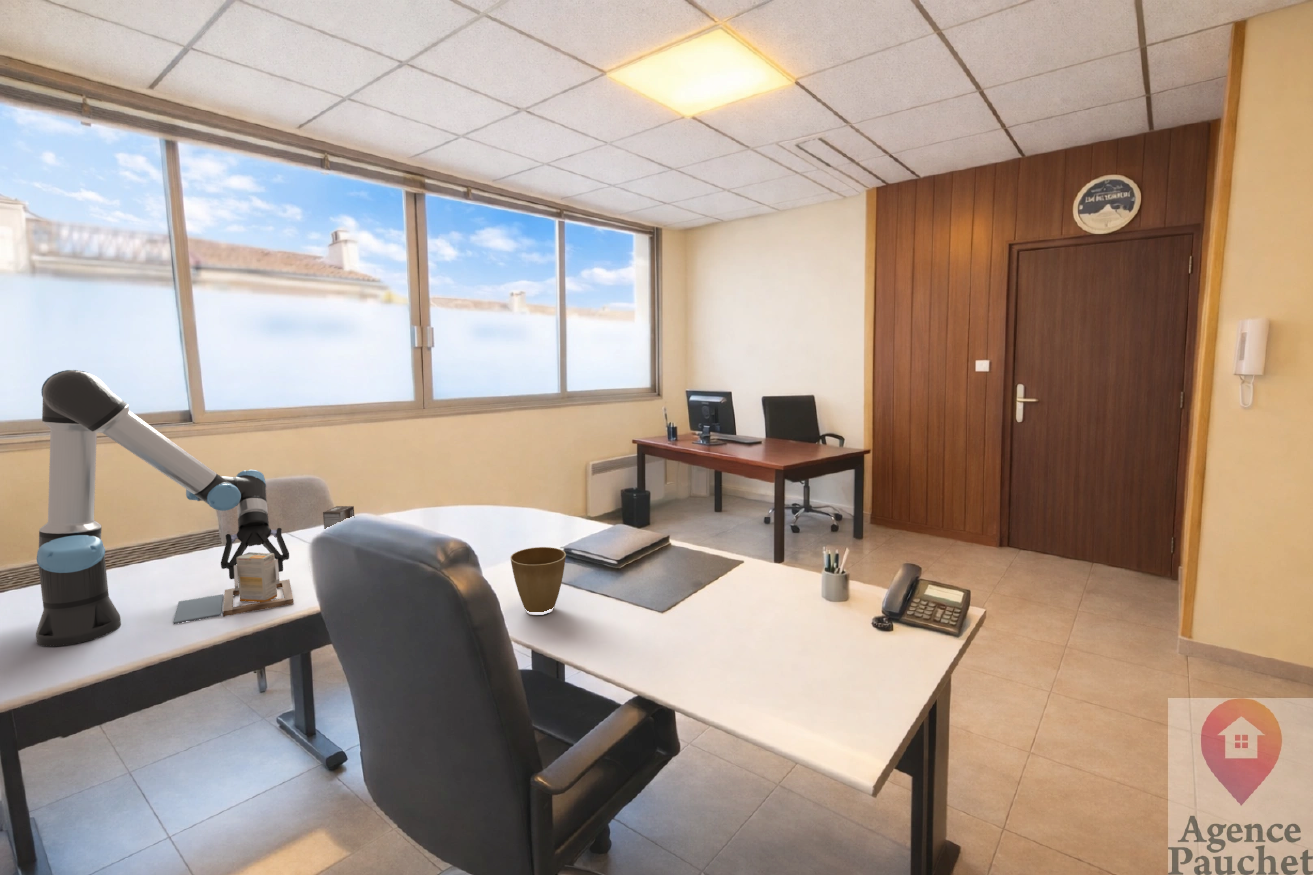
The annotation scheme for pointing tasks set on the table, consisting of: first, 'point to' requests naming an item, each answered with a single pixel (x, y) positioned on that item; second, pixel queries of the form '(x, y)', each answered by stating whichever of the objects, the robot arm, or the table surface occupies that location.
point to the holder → (231, 610)
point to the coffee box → (337, 515)
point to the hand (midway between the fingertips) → (257, 584)
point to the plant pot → (538, 576)
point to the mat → (198, 609)
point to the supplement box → (256, 577)
